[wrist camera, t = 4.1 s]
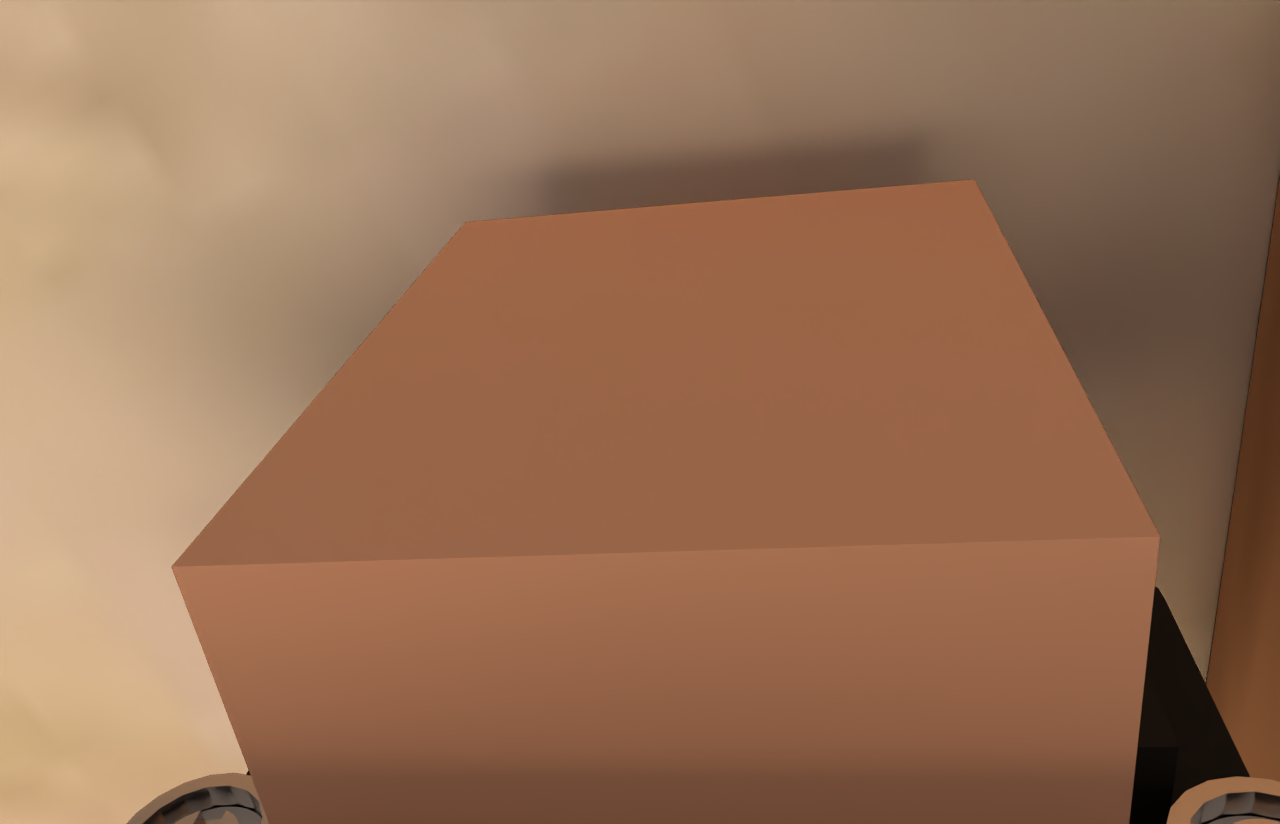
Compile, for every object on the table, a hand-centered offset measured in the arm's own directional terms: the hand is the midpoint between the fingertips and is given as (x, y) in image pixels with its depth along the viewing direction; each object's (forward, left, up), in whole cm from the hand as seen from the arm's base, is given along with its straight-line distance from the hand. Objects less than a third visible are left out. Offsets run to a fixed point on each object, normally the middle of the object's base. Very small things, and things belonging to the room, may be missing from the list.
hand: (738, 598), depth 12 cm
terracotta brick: (0, 0, -1) cm, 1 cm away
